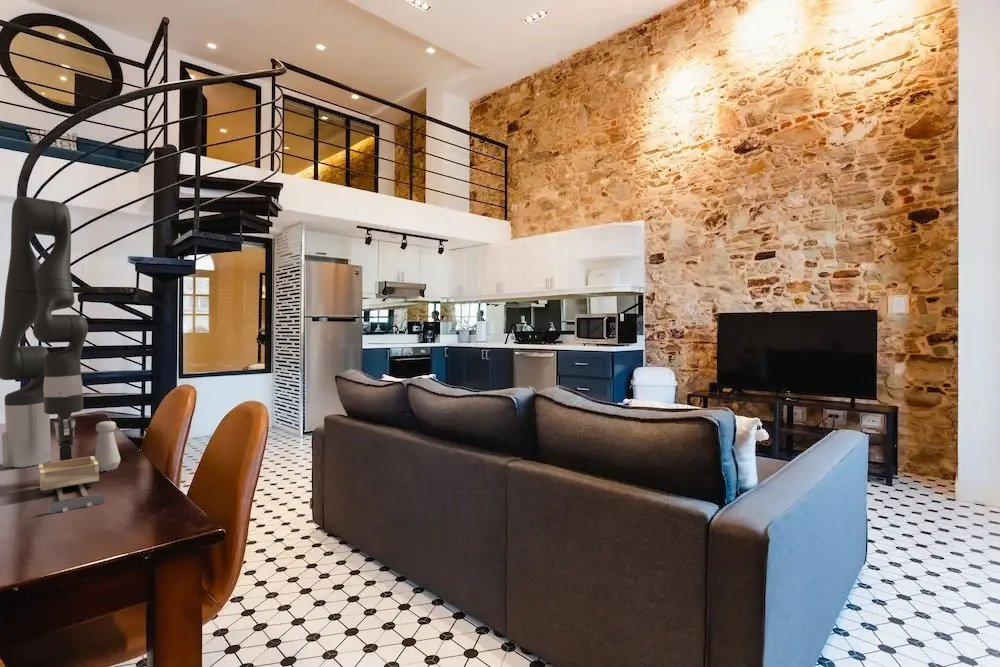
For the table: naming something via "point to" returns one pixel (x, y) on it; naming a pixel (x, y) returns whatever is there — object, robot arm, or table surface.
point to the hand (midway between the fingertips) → (65, 461)
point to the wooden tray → (68, 473)
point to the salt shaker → (106, 447)
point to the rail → (75, 501)
